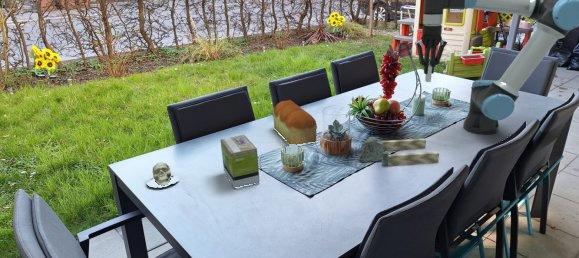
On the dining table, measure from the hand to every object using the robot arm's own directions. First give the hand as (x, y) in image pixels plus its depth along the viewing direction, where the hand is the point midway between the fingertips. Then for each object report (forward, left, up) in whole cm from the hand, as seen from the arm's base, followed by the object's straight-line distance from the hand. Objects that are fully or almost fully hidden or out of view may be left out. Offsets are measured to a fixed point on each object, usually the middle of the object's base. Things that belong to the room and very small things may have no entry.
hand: (427, 81), depth 180 cm
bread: (+57, -12, -27) cm, 64 cm away
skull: (+110, +27, -27) cm, 116 cm away
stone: (+27, +17, -27) cm, 42 cm away
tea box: (+80, +28, -27) cm, 89 cm away
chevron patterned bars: (+14, +17, -26) cm, 34 cm away
